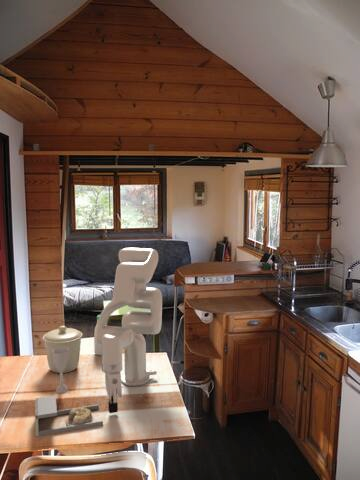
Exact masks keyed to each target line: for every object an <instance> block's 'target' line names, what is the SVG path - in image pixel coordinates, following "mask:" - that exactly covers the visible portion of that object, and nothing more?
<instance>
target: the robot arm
mask: <svg viewBox="0 0 360 480" xmlns="http://www.w3.org/2000/svg"><path fill="white" fill-rule="evenodd" d="M118 260H119V263H118V265H117V266H116V270H115V277H114V284H113V293H112V299H111V301H109V303H107V305H106V306H105V307H104V308H103V309H102V311H101V312H100V314H99V315H100V317H99V320H98V327H97V341H98V343H99V344H101V345H102V355H101V368H102V369H101V370H102V372H103V373H104V376H105V377H104V380H105V382H104V383H105V390H106V394H107V396H108V412H109V414H114V413H118V412H119V411H118V409H119V408H118V405H119V403H118V398H120V399H121V398H122V397H123V393H122V392H123V390H122V388H123V387H122V384H124V385H126V386H128V387H129V386H131V387H136V386H137V387H138V386H143V385H145V384H148V382H149V381H150V377H151V376H154V375H157V373H158V372H157V370H156V369H155V370H153V368H149V369H148V368H147V349H146V348H147V344H146V343H147V342H146V339H145V337H144V335H157V334H159V333H160V332H161V329H162V325H163V324H162V323H163V319H162V317H163V316H162V315H163V294H162V291H161V290H160V289H159V288H157V287H152V286H151V287H150V286H149V287H148V286H147V284H149V282H150V281H151V280H152V278H153V275H154V274H155V271H156V268H157V266H158V263H159V253H158V250H156V249H154V248H145V247H142V248H141V247H125V248H122V249H120V250H119V251H118ZM124 307H129V308H131V309H140V310H141V309H142V310H149V311H137V310H134V311H133V310H131V311H127V312H125V313H123V315H122V318H121V326H111V325H108V321H109V318H110V317H111V315H112V314H113V313H114V312H116V311H117V310H119V309H122V308H124ZM123 351H124V374H122V375H121V372H122V371H123Z"/></svg>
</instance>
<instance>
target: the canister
mask: <svg viewBox="0 0 360 480" xmlns="http://www.w3.org/2000/svg"><path fill="white" fill-rule="evenodd" d="M82 337H83V332H82V331H80V330H78V329H76V328H72V327H67V326H66V325H60V326H59V327H58V328H56V329H55V328H54V329H52V330H49V331H48V332H46V333H45V334H44V335H43V336H42V340H43V341H44V347H45V352H46V359H47V364H48V367H49V369H50V370H51V372H52V373H53V372H54V373H56V374H60V371H58V370H57V368H56V366H55V364H54V358H53V352H52V350H53V349H54V348H57V347H68V348H69V350H68V362H67V365H66V367H65V370H64V371H62V373H63V374H65V373H70V372H73V371H74V370H76V369H77V367H78V366H79V364H80V363H79V362H80V355H81V343H82Z"/></svg>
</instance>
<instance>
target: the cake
mask: <svg viewBox="0 0 360 480" xmlns="http://www.w3.org/2000/svg"><path fill="white" fill-rule="evenodd" d="M79 407H80V408H78V407H75V408H76V409H72V408H71V409H72V410H71V411H70V412H69V413H68V414H69V415H68V416H67V418H66V420H65V424H66V425H67V426H72V425H78V424H85V423H91V422H94V421H93V419H94V418H93V414H92V410H89V409H87V408H84V407H85V406H79ZM82 407H83V408H82ZM71 421H72V423H71Z"/></svg>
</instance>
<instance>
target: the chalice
mask: <svg viewBox="0 0 360 480" xmlns="http://www.w3.org/2000/svg"><path fill="white" fill-rule="evenodd" d="M68 350H69V348H68V347H57V348H54V349H53V350H52V352H53V358H54V364H55V366H56V368H57V370H58V371H60V373H59V381H60V383H59V384H58V385H57V387H56V388H55V392H56V393H58V394H64V393H66V392H68V390H69V388H68V386H67V384H65V383H64V382H63V381H64V378H63V377H64V373H62V371H64V370H65V367H66V365H67V362H68Z"/></svg>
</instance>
